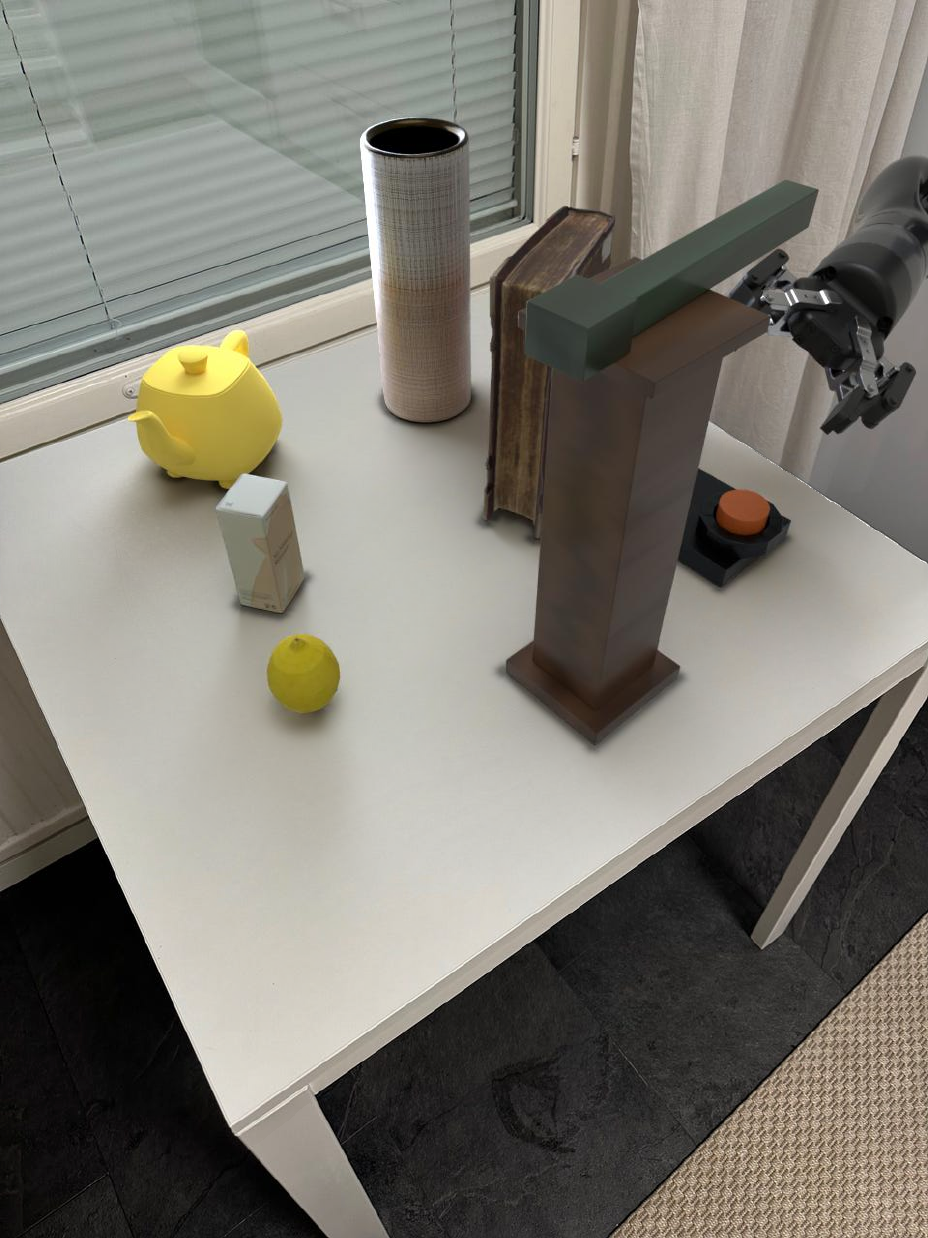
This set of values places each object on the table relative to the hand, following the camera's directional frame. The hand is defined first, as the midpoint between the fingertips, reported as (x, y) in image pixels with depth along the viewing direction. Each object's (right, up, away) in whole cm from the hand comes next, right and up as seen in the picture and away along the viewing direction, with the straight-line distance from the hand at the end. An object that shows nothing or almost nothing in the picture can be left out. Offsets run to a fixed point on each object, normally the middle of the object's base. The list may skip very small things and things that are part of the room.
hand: (786, 382), depth 61 cm
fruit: (-34, -23, +11) cm, 43 cm away
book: (-14, -3, +30) cm, 33 cm away
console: (+1, -8, +25) cm, 26 cm away
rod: (-9, +3, -9) cm, 13 cm away
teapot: (-48, 0, +33) cm, 58 cm away
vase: (-26, +9, +41) cm, 49 cm away
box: (-39, -14, +20) cm, 46 cm away
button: (+3, -7, +20) cm, 22 cm away
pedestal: (-11, -21, +13) cm, 27 cm away
